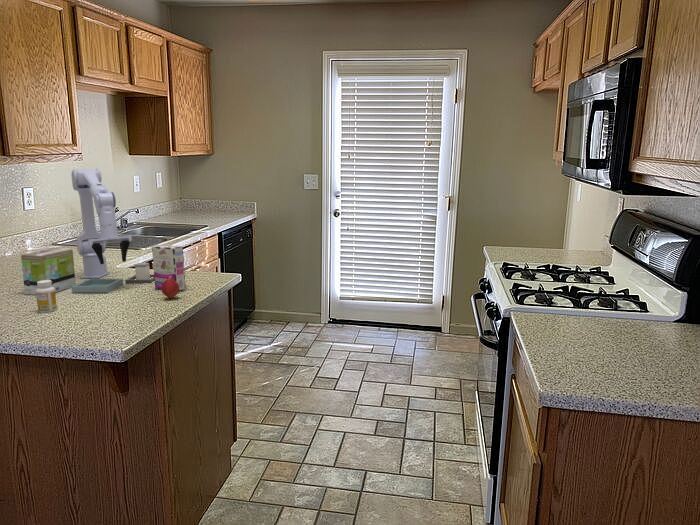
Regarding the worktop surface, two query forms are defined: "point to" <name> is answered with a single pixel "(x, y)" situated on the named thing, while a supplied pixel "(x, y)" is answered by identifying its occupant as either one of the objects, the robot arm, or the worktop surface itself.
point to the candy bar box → (168, 265)
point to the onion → (170, 288)
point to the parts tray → (97, 286)
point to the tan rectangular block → (142, 271)
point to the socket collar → (132, 280)
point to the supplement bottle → (45, 296)
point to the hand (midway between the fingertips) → (113, 262)
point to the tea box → (48, 269)
